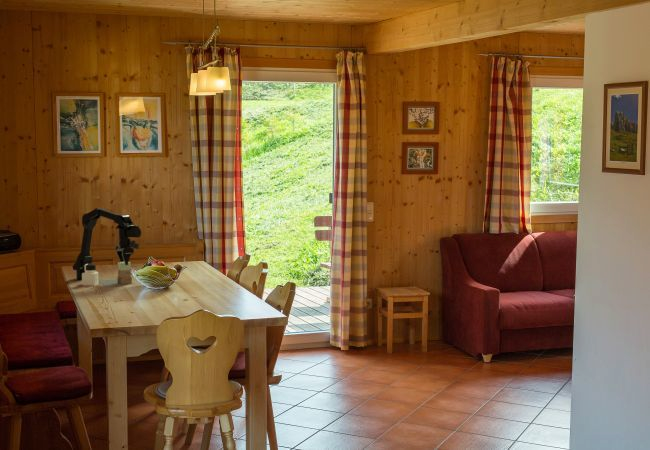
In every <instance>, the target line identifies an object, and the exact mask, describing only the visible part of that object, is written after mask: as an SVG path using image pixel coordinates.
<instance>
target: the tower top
mask: <svg viewBox="0 0 650 450" xmlns="http://www.w3.org/2000/svg"><path fill="white" fill-rule="evenodd" d="M131 270H132V269H131ZM131 270H119V269H118V268H117V271H118V272H117V274H118V275H117V276H119V277H132V271H131Z"/></svg>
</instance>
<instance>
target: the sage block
mask: <svg viewBox="0 0 650 450" xmlns="http://www.w3.org/2000/svg"><path fill="white" fill-rule="evenodd" d="M118 269H119V270H132V262H130V261H129V262H128V265H125V262H124V261H123V262H120V261H117V270H118Z"/></svg>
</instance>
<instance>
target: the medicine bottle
mask: <svg viewBox="0 0 650 450" xmlns="http://www.w3.org/2000/svg"><path fill="white" fill-rule="evenodd" d="M96 267H97V266H96V264H95V263H91V264H86V265H85V273H82V280H81V285H82V286H97V285H99V284H100V283H99V279H100V278H99V275H100V273H99V271H97V270H96Z"/></svg>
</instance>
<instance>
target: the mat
mask: <svg viewBox="0 0 650 450" xmlns="http://www.w3.org/2000/svg"><path fill="white" fill-rule="evenodd" d="M99 284H100V285H101V286H104V287H117V286H129V285H131V286H132V285H133V286H134V285H135V283H134V282H132V284H123V285H122V284H118V283H117V279H116V278H114V279H100V280H99Z"/></svg>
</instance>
